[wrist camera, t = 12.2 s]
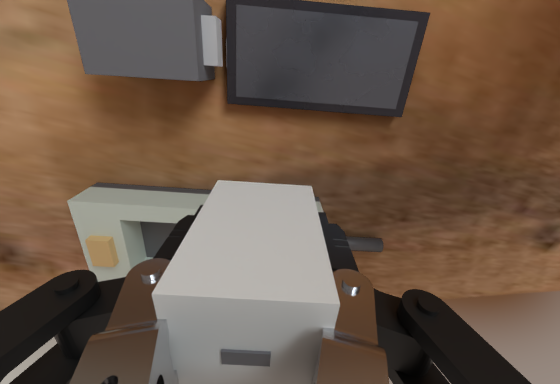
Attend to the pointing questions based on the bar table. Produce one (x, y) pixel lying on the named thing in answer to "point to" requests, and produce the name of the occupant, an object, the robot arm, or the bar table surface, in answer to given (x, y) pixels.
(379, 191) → the bar table surface
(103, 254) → the strip
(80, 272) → the robot arm
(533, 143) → the bar table surface
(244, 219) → the charger
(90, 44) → the plug
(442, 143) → the bar table surface
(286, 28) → the phone
